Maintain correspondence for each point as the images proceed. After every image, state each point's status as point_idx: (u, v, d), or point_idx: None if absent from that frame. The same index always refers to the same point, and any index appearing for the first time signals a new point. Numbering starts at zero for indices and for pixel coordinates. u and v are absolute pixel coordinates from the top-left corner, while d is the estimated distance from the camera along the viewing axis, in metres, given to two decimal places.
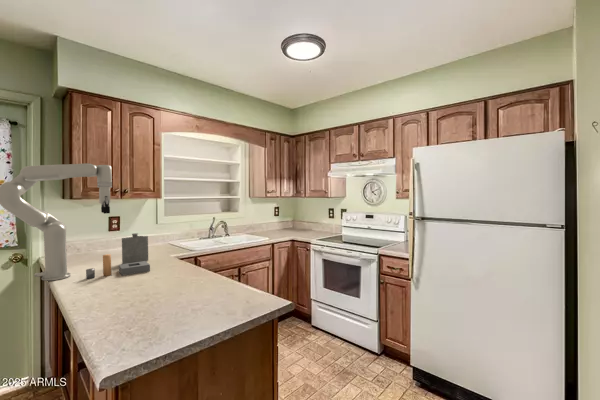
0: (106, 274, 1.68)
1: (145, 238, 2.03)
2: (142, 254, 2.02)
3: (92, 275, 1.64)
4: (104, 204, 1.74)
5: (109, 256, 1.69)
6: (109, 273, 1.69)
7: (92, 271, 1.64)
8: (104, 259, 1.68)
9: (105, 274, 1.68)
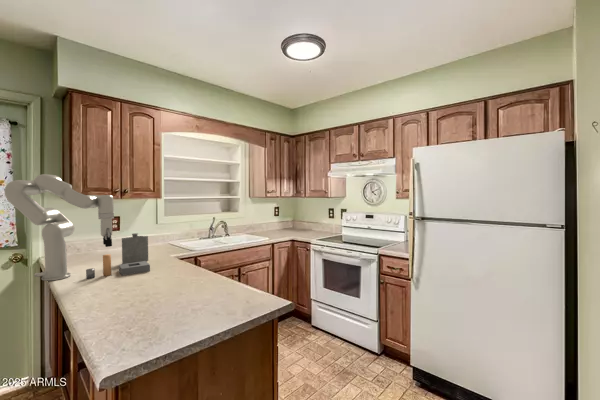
0: (106, 274, 1.68)
1: (145, 238, 2.03)
2: (142, 254, 2.02)
3: (92, 275, 1.64)
4: (106, 237, 1.64)
5: (109, 256, 1.69)
6: (109, 273, 1.69)
7: (92, 271, 1.64)
8: (104, 259, 1.68)
9: (105, 274, 1.68)
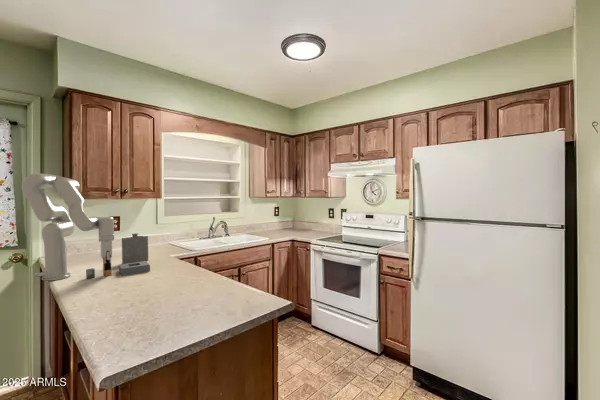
0: (106, 274, 1.68)
1: (145, 238, 2.03)
2: (142, 254, 2.02)
3: (92, 275, 1.64)
4: (105, 261, 1.66)
5: None
6: (109, 273, 1.69)
7: (92, 271, 1.64)
8: (104, 259, 1.68)
9: (105, 274, 1.68)
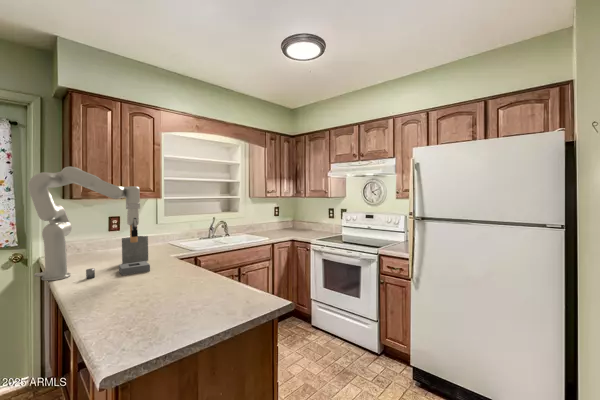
0: (133, 240, 1.76)
1: (145, 238, 2.03)
2: (142, 254, 2.02)
3: (92, 275, 1.64)
4: (132, 228, 1.74)
5: None
6: (136, 240, 1.77)
7: (92, 271, 1.64)
8: (131, 226, 1.76)
9: (132, 240, 1.76)
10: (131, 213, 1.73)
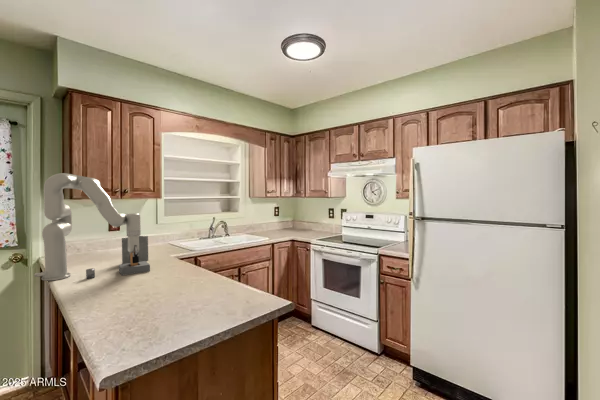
0: None
1: (145, 238, 2.03)
2: (142, 254, 2.02)
3: (92, 275, 1.64)
4: (133, 254, 1.74)
5: None
6: None
7: (92, 271, 1.64)
8: (132, 255, 1.77)
9: None
10: (132, 241, 1.73)
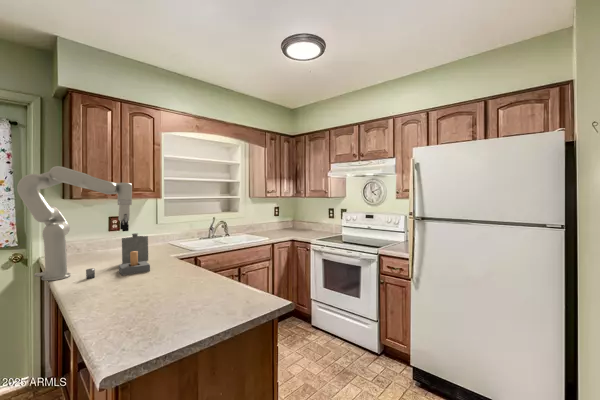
0: None
1: (145, 238, 2.03)
2: (142, 254, 2.02)
3: (92, 275, 1.64)
4: (123, 222, 1.74)
5: (136, 253, 1.78)
6: None
7: (92, 271, 1.64)
8: (132, 255, 1.77)
9: None
10: (122, 209, 1.74)
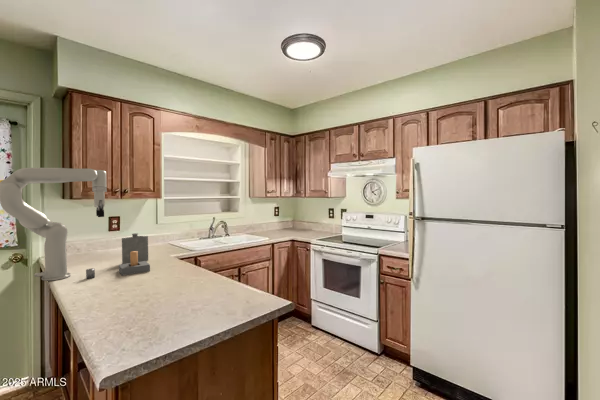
0: None
1: (145, 238, 2.03)
2: (142, 254, 2.02)
3: (92, 275, 1.64)
4: (98, 208, 1.79)
5: (136, 253, 1.78)
6: None
7: (92, 271, 1.64)
8: (132, 255, 1.77)
9: None
10: (97, 195, 1.79)
